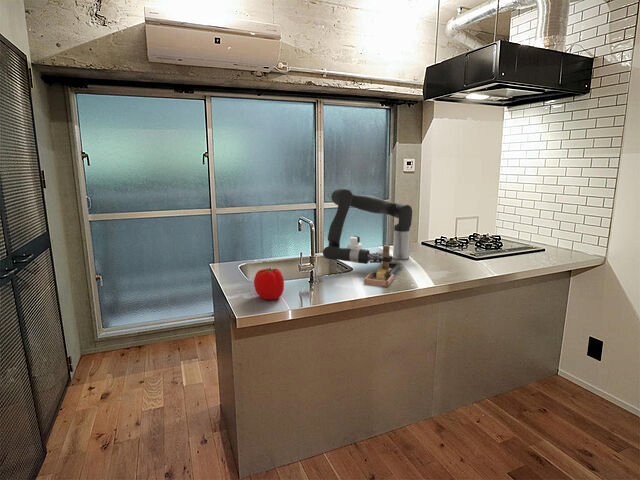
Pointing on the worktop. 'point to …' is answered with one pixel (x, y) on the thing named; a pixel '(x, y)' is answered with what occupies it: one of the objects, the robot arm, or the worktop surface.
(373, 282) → the tray
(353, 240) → the medicine bottle
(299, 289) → the worktop surface
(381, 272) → the chip
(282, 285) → the red bell pepper
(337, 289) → the worktop surface
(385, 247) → the rake
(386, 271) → the chip
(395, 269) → the slot bed
